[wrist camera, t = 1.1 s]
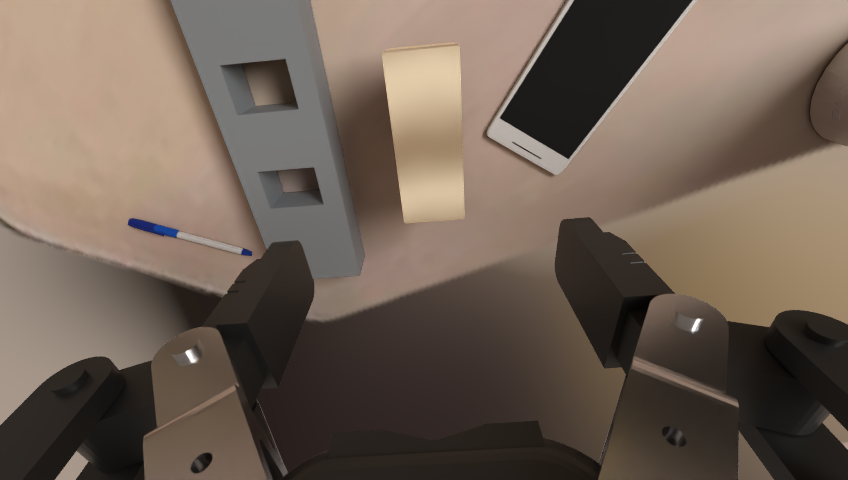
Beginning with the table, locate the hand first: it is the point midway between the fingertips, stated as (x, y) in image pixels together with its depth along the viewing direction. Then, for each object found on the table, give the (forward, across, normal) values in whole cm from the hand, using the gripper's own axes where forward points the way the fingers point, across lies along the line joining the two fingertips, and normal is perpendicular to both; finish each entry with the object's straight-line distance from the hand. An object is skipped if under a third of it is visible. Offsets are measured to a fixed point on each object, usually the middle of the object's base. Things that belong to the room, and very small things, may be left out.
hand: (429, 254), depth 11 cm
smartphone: (+19, -12, -3) cm, 22 cm away
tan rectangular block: (+18, 0, 0) cm, 18 cm away
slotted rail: (+18, +10, 0) cm, 21 cm away
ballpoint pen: (+19, +22, +8) cm, 30 cm away
